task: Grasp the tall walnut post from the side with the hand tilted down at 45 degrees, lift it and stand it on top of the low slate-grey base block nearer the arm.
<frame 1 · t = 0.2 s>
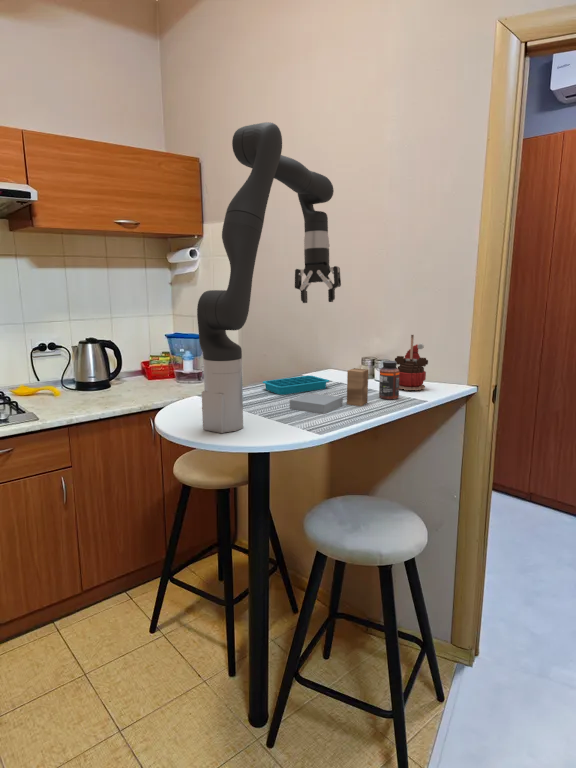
hand: (317, 302, 158), 29 cm above the table, tool pointing down, fingers open, 8 cm apart
base block: (316, 408, 147), on the table
supplement bottle: (388, 398, 158), on the table
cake: (409, 389, 171), on the table
walnut post: (357, 403, 151), on the table
ice cube tray: (296, 390, 172), on the table
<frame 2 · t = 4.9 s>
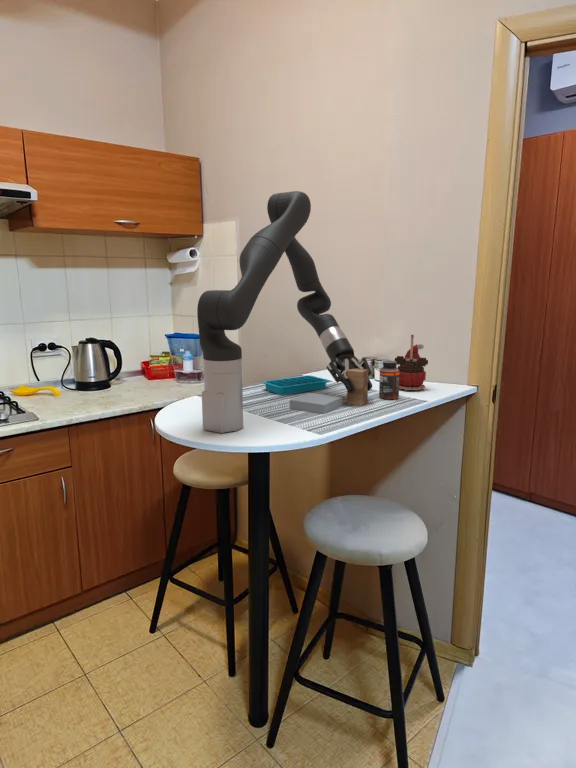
hand: (361, 390, 149), 4 cm above the table, tool tilted 45°, fingers closed on walnut post, 6 cm apart
walnut post: (357, 403, 151), on the table, touching gripper
everything else where it was.
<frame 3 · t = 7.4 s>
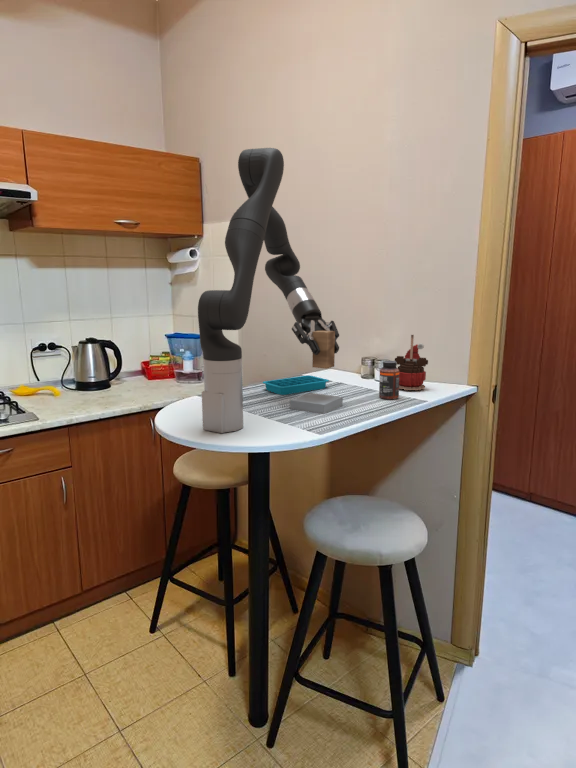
hand: (327, 352, 143), 16 cm above the table, tool tilted 45°, fingers closed on walnut post, 6 cm apart
walnut post: (323, 366, 145), point 12 cm above the table, touching gripper
everything else where it was.
when the fingers open (8 cm above the table, at t = 10.2 s): walnut post stays where it is, resting on base block.
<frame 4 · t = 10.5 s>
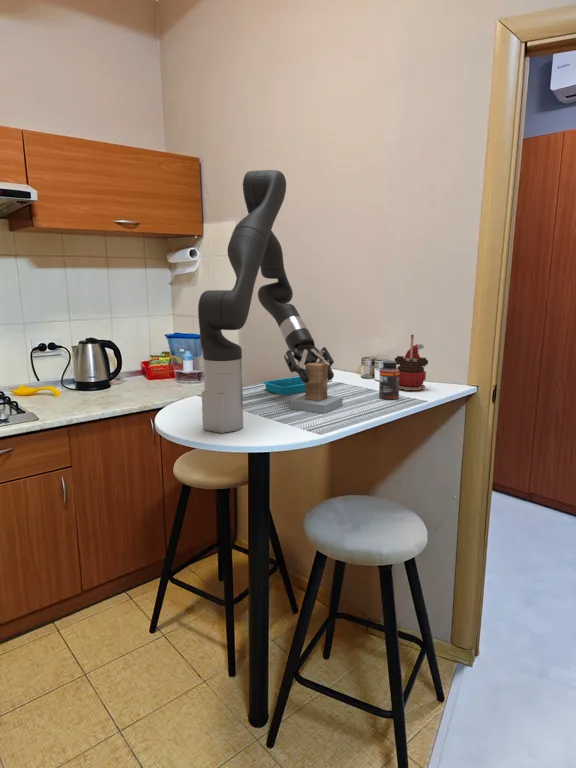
hand: (319, 380, 144), 8 cm above the table, tool tilted 45°, fingers open, 8 cm apart
base block: (316, 409, 147), on the table, touching walnut post
walnut post: (316, 398, 147), point 2 cm above the table, touching base block
everything else where it was.
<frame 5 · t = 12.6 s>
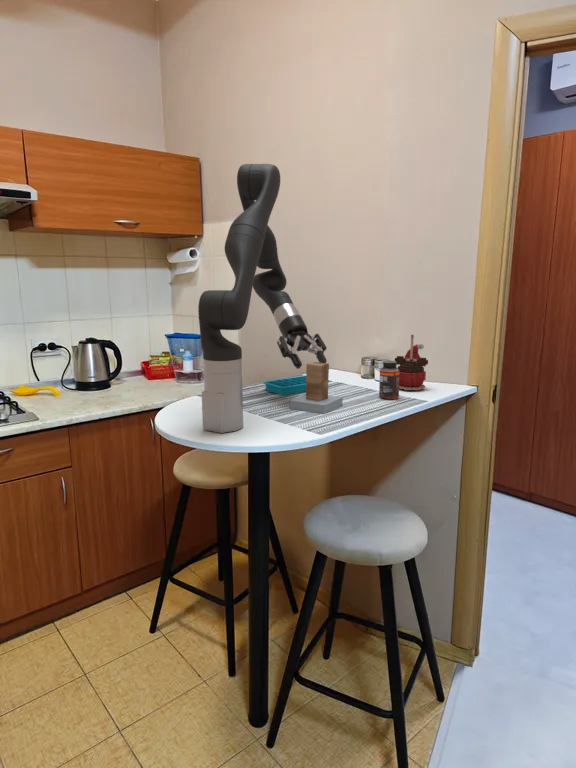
hand: (312, 365, 147), 12 cm above the table, tool tilted 45°, fingers open, 8 cm apart
base block: (316, 409, 147), on the table
walnut post: (316, 398, 147), point 2 cm above the table
everything else where it was.
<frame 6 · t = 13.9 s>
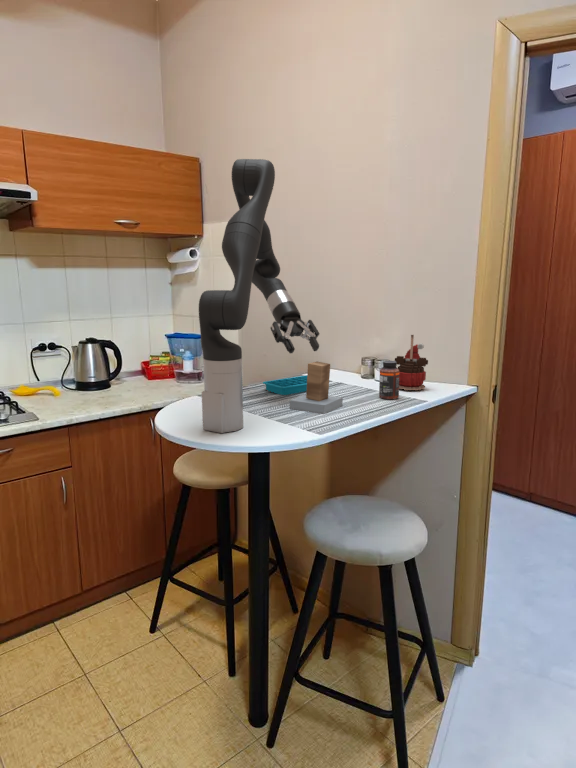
hand: (304, 350, 149), 16 cm above the table, tool tilted 45°, fingers open, 8 cm apart
nothing on the table moved.
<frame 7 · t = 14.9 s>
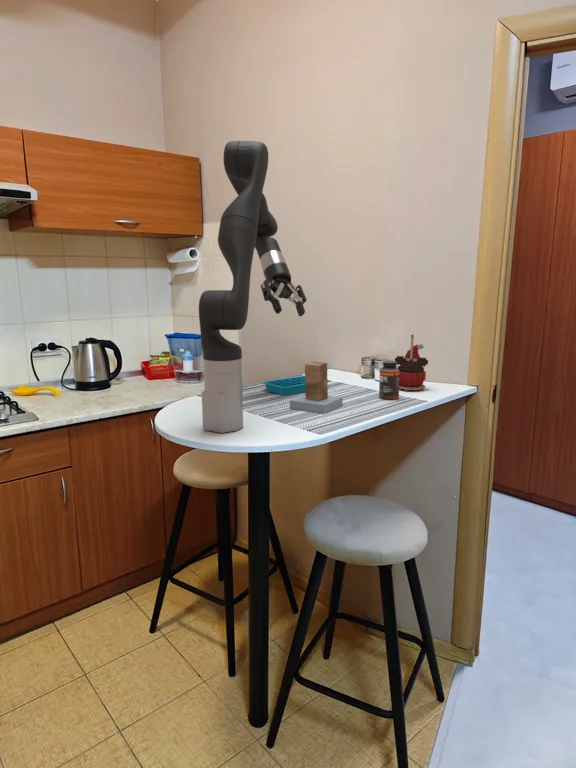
hand: (290, 313, 151), 26 cm above the table, tool tilted 40°, fingers open, 8 cm apart
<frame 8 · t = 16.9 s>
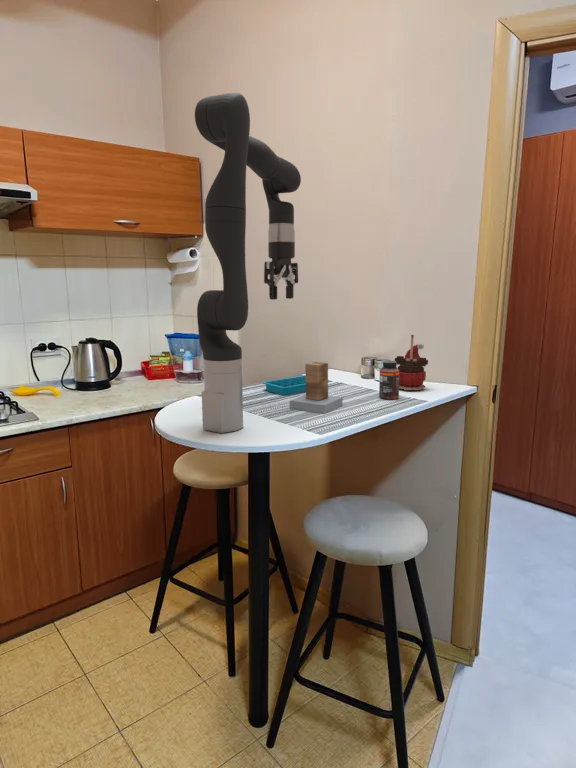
hand: (281, 299, 150), 30 cm above the table, tool pointing down, fingers open, 8 cm apart
nothing on the table moved.
at the end: walnut post inside the target area on the base block (0.4 cm from its centre), point 3.1 cm above the base block's base; walnut post tilted 1°; the gripper is holding nothing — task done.
